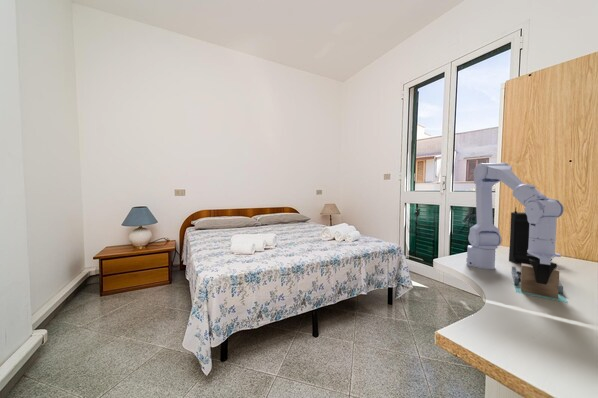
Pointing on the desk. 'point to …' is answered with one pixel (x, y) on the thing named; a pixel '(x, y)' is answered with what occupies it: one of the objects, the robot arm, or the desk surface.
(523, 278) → the walnut panel
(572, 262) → the desk surface
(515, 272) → the rack
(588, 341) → the desk surface
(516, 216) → the portable radio
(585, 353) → the desk surface
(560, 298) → the teal mat
